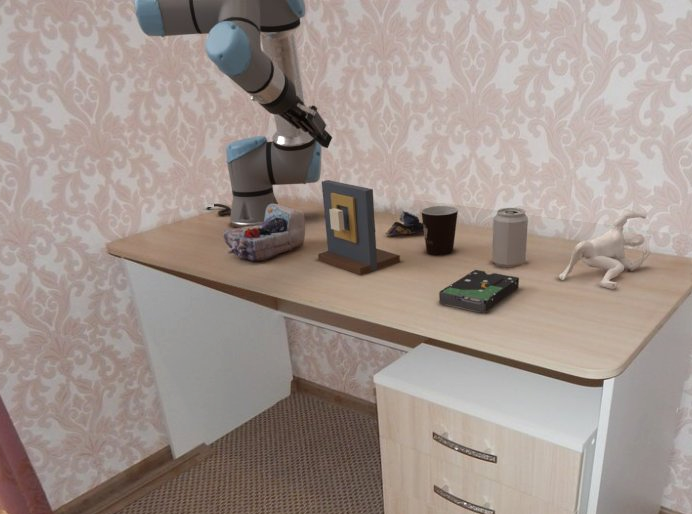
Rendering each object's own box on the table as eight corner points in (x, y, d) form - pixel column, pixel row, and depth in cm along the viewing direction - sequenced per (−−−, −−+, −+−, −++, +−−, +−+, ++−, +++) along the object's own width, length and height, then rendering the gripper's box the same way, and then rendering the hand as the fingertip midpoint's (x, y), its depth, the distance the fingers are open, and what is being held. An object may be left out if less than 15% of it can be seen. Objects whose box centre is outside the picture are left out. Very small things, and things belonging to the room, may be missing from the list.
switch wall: (360, 275, 139) (354, 193, 131) (318, 260, 150) (310, 183, 141) (400, 261, 146) (397, 183, 137) (357, 248, 157) (351, 174, 148)
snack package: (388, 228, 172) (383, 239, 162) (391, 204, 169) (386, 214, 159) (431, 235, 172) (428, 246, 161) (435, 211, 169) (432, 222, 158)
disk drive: (473, 281, 133) (438, 304, 122) (474, 269, 131) (438, 291, 121) (519, 290, 127) (486, 314, 117) (520, 276, 126) (486, 300, 116)
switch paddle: (339, 231, 139) (337, 211, 137) (331, 228, 142) (329, 209, 139) (344, 229, 140) (342, 210, 138) (335, 227, 142) (334, 208, 140)
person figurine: (608, 239, 119) (646, 202, 129) (549, 242, 127) (588, 208, 138) (619, 300, 124) (654, 260, 134) (562, 299, 133) (598, 262, 143)
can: (526, 258, 144) (529, 206, 138) (523, 269, 138) (527, 215, 132) (494, 257, 146) (495, 205, 140) (489, 267, 140) (491, 214, 134)
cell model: (309, 204, 154) (244, 224, 142) (314, 246, 160) (252, 269, 147) (275, 197, 162) (210, 216, 149) (281, 237, 167) (219, 259, 155)
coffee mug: (455, 257, 147) (455, 215, 142) (419, 256, 149) (418, 215, 144) (460, 242, 157) (460, 202, 152) (426, 242, 159) (426, 202, 154)
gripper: (237, 98, 124) (299, 150, 146) (288, 112, 119) (343, 164, 141) (252, 62, 124) (311, 120, 145) (303, 75, 119) (357, 133, 140)
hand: (327, 141), depth 143 cm, fingers closed
